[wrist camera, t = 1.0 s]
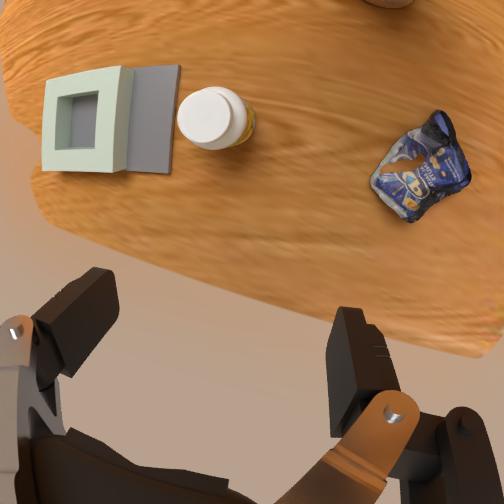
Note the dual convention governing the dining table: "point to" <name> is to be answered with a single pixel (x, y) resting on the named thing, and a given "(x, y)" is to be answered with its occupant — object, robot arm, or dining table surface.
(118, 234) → the dining table surface
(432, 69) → the dining table surface
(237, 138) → the supplement bottle
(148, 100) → the socket board
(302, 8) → the dining table surface
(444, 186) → the snack package
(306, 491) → the robot arm
